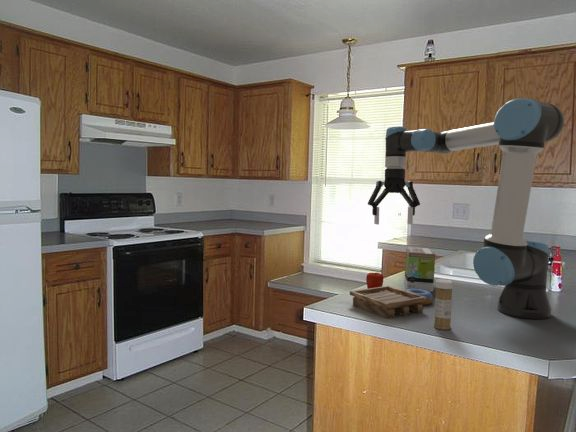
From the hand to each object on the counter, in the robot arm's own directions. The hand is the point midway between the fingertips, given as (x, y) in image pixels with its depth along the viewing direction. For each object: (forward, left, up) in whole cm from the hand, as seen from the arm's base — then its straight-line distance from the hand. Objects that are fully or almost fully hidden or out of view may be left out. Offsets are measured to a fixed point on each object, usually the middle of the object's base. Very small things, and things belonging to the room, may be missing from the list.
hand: (393, 224), depth 168 cm
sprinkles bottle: (-42, +21, -25) cm, 53 cm away
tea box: (-4, -11, -25) cm, 28 cm away
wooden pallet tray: (-20, +22, -25) cm, 39 cm away
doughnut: (-19, +6, -25) cm, 32 cm away
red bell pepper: (-3, +11, -25) cm, 27 cm away
